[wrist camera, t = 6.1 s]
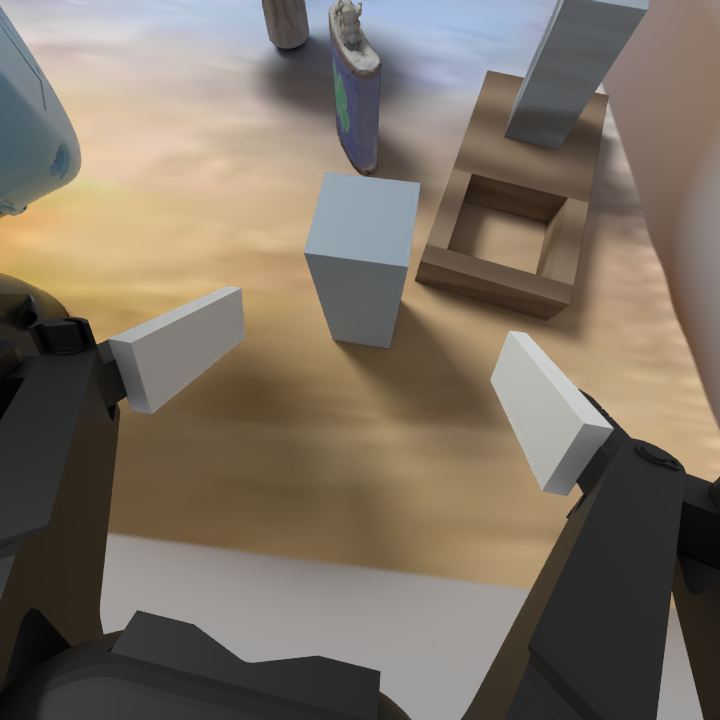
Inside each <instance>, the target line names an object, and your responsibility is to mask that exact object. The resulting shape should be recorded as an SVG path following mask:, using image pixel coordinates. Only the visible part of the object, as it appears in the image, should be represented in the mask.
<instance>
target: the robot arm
mask: <svg viewBox="0 0 720 720" xmlns="http://www.w3.org/2000/svg"><path fill="white" fill-rule="evenodd" d="M80 166H81V152H80V146H79V143H78V139H77V136H76V134H75V131H74V129H73V127H72V124H71V122H70V120H69V118H68V116H67V114H66V112H65V110H64V108H63V106H62V104H61V103H60V101H59V99H58V97H57V95H56V94H55V92H54V90H53V88H52V87H51V85H50V83H49V81H48V80H47V78H46V76H45V75H44V73H43V72H42V70H41V68H40V67H39V65H38V63H37V62H36V60H35V59H34V57H33V55H32V54H31V52H30V51H29V49H28V47H27V46H26V44H25V43H24V41H23V40H22V38H21V37H20V35H19V34H18V32H17V31H16V29H15V28H14V26H13V25H12V23H11V21H10V20H9V18H8V17H7V15H6V14H5V12H4V11H3V9H2V8H1V6H0V218H1V217H3V216H6V215H8V214H9V215H12V216H15V215H18V214H21V213H22V212H24V211H25V210H26V209H27V206H28V204H30V203H32V202H34V201H36V200H37V199H39V198H41V197H43V196H45V195H47V194H49V193H51V192H53V191H55V190H57V189H59V188H61V187H63V186H65V185H67V184H68V183H70V182H71V181H72V180H73V179H74V178H75V177H76V176H77V174H78V172H79V170H80ZM244 339H245V327H244V315H243V303H242V291H241V288H237V287H230V286H226V287H223V288H221V289H219V290H216V291H214V292H212V293H210V294H207V295H205V296H203V297H201V298H198V299H196V300H194V301H192V302H189V303H187V304H185V305H183V306H180V307H178V308H176V309H174V310H171V311H169V312H167V313H165V314H162V315H160V316H158V317H156V318H153V319H151V320H149V321H147V322H144V323H142V324H140V325H138V326H135V327H133V328H131V329H129V330H126V331H124V332H122V333H119V334H117V335H115V336H113V337H110V338H108V340H106V341H104V342H102V343H99V344H97V345H96V342H95V339H94V336H93V334H92V331H91V328H90V325H89V322H88V320H86V319H84V318H77V317H67V314H66V312H65V310H64V309H63V307H62V306H61V305H60V303H59V302H58V301H57V300H56V299H55V298H54V297H52V296H51V295H50V294H48V293H47V292H45V291H43V290H41V289H39V288H37V287H34V286H32V285H30V284H28V283H26V282H24V281H22V280H20V279H17V278H15V277H12V276H8V275H5V274H1V273H0V720H411V719H410V718H409V716H408V715H407V714H406V713H405V712H404V711H403V710H402V709H401V708H400V707H399V706H398V705H397V704H396V703H394V702H393V701H392V700H391V699H390V698H388V697H387V696H386V695H384V694H383V693H381V692H380V691H379V687H380V671H377V670H373V669H369V668H365V667H361V666H356V665H353V664H349V663H345V662H341V661H337V660H333V659H329V658H325V657H321V656H311V657H301V658H292V659H284V660H274V661H265V662H256V663H247V662H245V661H243V660H241V659H240V658H238V657H237V656H236V655H234V654H233V653H231V652H230V651H229V650H227V649H226V648H225V647H223V646H222V645H221V644H219V643H218V642H217V641H215V640H214V639H213V638H211V637H210V636H209V635H207V634H206V633H205V632H203V631H202V630H201V629H199V628H198V627H197V626H195V625H194V624H190V623H186V622H182V621H178V620H174V619H170V618H166V617H162V616H158V615H154V614H150V613H146V612H142V611H138V610H137V612H136V613H135V614H134V616H133V617H132V619H131V620H130V622H129V623H128V625H127V626H126V628H125V629H124V630H121V631H117V632H113V633H108V634H103V630H102V624H101V619H100V598H101V589H102V580H103V570H104V561H105V550H106V541H107V532H108V523H109V514H110V504H111V495H112V485H113V476H114V467H115V457H116V448H117V438H118V429H119V420H120V409H119V406H118V404H117V402H119V401H120V400H122V399H123V398H125V397H126V396H127V399H128V402H129V405H130V408H131V410H132V411H137V412H142V413H147V414H153V413H154V412H155V411H157V410H158V409H159V408H160V407H162V406H163V405H164V404H165V403H166V402H168V401H169V400H170V399H171V398H173V397H174V396H175V395H176V394H178V393H179V392H180V391H181V390H182V389H184V388H185V387H186V386H187V385H189V384H190V383H191V382H192V381H193V380H195V379H196V378H197V377H198V376H200V375H201V374H202V373H203V372H205V371H206V370H207V369H208V368H209V367H211V366H212V365H213V364H214V363H216V362H217V361H218V360H219V359H221V358H222V357H223V356H224V355H225V354H227V353H228V352H229V351H230V350H232V349H233V348H234V347H235V346H236V345H238V344H239V343H240V342H241V341H243V340H244ZM490 381H491V383H492V385H493V387H494V389H495V391H496V394H497V396H498V398H499V400H500V402H501V404H502V406H503V409H504V411H505V413H506V415H507V417H508V419H509V422H510V424H511V426H512V428H513V430H514V432H515V434H516V437H517V439H518V441H519V443H520V445H521V447H522V449H523V452H524V454H525V456H526V458H527V460H528V462H529V464H530V467H531V469H532V471H533V473H534V475H535V477H536V480H537V482H538V484H539V486H540V488H541V490H542V491H545V492H550V493H555V494H560V495H565V496H567V495H568V494H569V493H570V491H571V490H572V488H573V487H574V485H575V484H576V482H577V483H578V485H579V487H580V488H581V490H582V492H583V493H584V494H583V495H582V496H581V498H580V499H579V500H578V502H577V503H576V505H575V506H574V507H573V509H572V510H571V511H570V513H569V514H568V515H567V517H566V518H568V521H567V523H566V525H565V527H564V528H563V530H562V532H561V534H560V536H559V538H558V540H557V542H556V544H555V546H554V547H553V549H552V551H551V553H550V555H549V557H548V559H547V561H546V563H545V565H544V566H543V568H542V570H541V572H540V574H539V576H538V578H537V580H536V582H535V584H534V585H533V587H532V589H531V591H530V593H529V595H528V597H527V599H526V601H525V603H524V605H523V606H522V608H521V610H520V612H519V614H518V616H517V618H516V620H515V622H514V623H513V626H512V627H511V629H510V631H509V633H508V635H507V637H506V639H505V641H504V642H503V644H502V646H501V648H500V650H499V652H498V654H497V656H496V658H495V660H494V661H493V663H492V665H491V667H490V669H489V671H488V673H487V675H486V677H485V679H484V680H483V682H482V684H481V686H480V688H479V690H478V692H477V694H476V695H475V697H474V699H473V701H472V703H471V705H470V706H469V708H468V710H467V711H466V713H465V714H464V716H463V717H462V719H461V720H656V718H657V709H658V700H659V692H660V684H661V675H662V667H663V659H664V651H665V642H666V634H667V625H668V617H669V609H670V601H671V592H672V593H673V597H674V601H675V605H676V609H677V613H678V617H679V621H680V625H681V629H682V633H683V637H684V641H685V645H686V650H687V653H688V657H689V662H690V666H691V670H692V674H693V678H694V682H695V686H696V690H697V694H698V698H699V702H700V706H701V710H702V714H703V719H704V720H720V477H719V478H718V479H717V480H716V481H715V482H714V483H712V482H709V481H706V480H703V479H700V478H698V477H695V476H692V475H689V474H686V472H685V469H684V467H683V465H682V464H681V463H680V462H679V461H678V460H677V459H676V458H674V457H673V456H672V455H670V454H669V453H668V452H666V451H664V450H662V449H660V448H659V447H657V446H655V445H652V444H650V443H647V442H645V441H642V440H638V439H632V438H631V437H630V436H629V435H628V434H627V433H626V432H625V431H624V430H623V429H622V428H621V427H620V426H619V425H618V424H617V423H616V422H615V421H614V420H613V419H612V417H609V414H608V413H607V412H606V411H605V410H604V409H602V407H601V406H600V405H599V404H598V403H597V402H596V401H595V400H594V399H593V398H592V397H591V396H589V395H588V394H586V393H585V392H583V391H582V390H580V389H577V388H576V387H575V386H574V385H573V383H572V382H571V381H570V380H569V379H568V378H567V377H566V376H565V375H564V374H563V373H562V371H561V370H560V369H559V368H558V367H557V366H556V365H555V364H554V363H553V362H552V361H551V359H550V358H549V357H548V356H547V355H546V354H545V353H544V352H543V351H542V350H541V349H540V347H539V346H538V345H537V344H536V343H535V342H534V341H533V340H532V339H531V338H530V337H529V336H528V334H527V333H522V332H516V331H509V333H508V336H507V338H506V341H505V343H504V346H503V348H502V351H501V354H500V356H499V359H498V361H497V364H496V366H495V369H494V372H493V374H492V377H491V379H490Z"/></svg>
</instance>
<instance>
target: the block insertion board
mask: <svg viewBox="0 0 720 720" xmlns="http://www.w3.org/2000/svg"><path fill="white" fill-rule="evenodd" d="M648 4H649V0H558V1H557V3H556V6H555V8H554V10H553V13H552V15H551V17H550V20H549V22H548V24H547V27H546V29H545V31H544V34H543V36H542V38H541V41H540V43H539V45H538V48H537V50H536V52H535V55H534V57H533V59H532V62H531V64H530V66H529V69H528V71H527V73H526V76H525V78H522V77H518V76H513V75H508V74H503V73H498V72H493V71H489V70H488V71H487V74H486V77H485V80H484V83H483V85H482V88H481V91H480V94H479V97H478V100H477V102H476V105H475V108H474V111H473V114H472V117H471V119H470V122H469V125H468V128H467V131H466V133H465V136H464V139H463V142H462V145H461V148H460V150H459V153H458V156H457V159H456V162H455V165H454V167H453V170H452V173H451V176H450V179H449V182H448V184H447V187H446V190H445V193H444V196H443V199H442V201H441V204H440V207H439V210H438V213H437V216H436V218H435V221H434V224H433V227H432V230H431V233H430V235H429V238H428V241H427V244H426V247H425V250H424V252H423V255H422V258H421V261H420V264H419V268H418V271H417V275H416V278H415V281H418V282H421V283H425V284H428V285H431V286H435V287H438V288H441V289H445V290H448V291H451V292H455V293H458V294H461V295H464V296H468V297H471V298H474V299H478V300H481V301H484V302H488V303H491V304H494V305H498V306H501V307H504V308H508V309H511V310H514V311H518V312H521V313H524V314H528V315H531V316H534V317H537V318H541V319H544V320H549V319H550V318H552V317H553V316H554V315H556V314H557V313H559V312H560V311H562V310H563V309H564V308H566V307H567V306H569V305H570V303H571V297H572V292H573V286H574V281H575V276H576V270H577V265H578V259H579V254H580V249H581V243H582V238H583V232H584V227H585V222H586V216H587V211H588V205H589V200H590V195H591V189H592V184H593V178H594V173H595V168H596V162H597V157H598V151H599V146H600V140H601V135H602V130H603V124H604V119H605V113H606V108H607V103H608V97H609V96H608V95H604V94H600V93H595V91H596V89H597V88H598V86H599V85H600V83H601V82H602V80H603V78H604V77H605V75H606V74H607V72H608V71H609V69H610V67H611V66H612V64H613V63H614V61H615V60H616V58H617V57H618V55H619V53H620V52H621V51H622V49H623V47H624V46H625V44H626V43H627V41H628V40H629V38H630V36H631V35H632V33H633V32H634V30H635V29H636V27H637V26H638V24H639V23H640V21H641V19H642V18H643V16H644V15H645V13H646V12H647V10H648ZM463 201H467V202H471V203H474V204H478V205H482V206H486V207H490V208H493V209H497V210H501V211H505V212H509V213H512V214H516V215H520V216H524V217H528V218H531V219H535V220H539V221H543V222H547V223H548V224H547V228H546V233H545V237H544V242H543V246H542V251H541V255H540V259H539V264H538V268H537V273H536V275H535V274H531V273H528V272H524V271H521V270H517V269H514V268H510V267H507V266H503V265H500V264H496V263H493V262H489V261H486V260H482V259H479V258H475V257H472V256H468V255H465V254H461V253H458V252H454V251H451V250H447V248H448V245H449V242H450V239H451V236H452V233H453V230H454V227H455V224H456V220H457V217H458V214H459V211H460V208H461V205H462V202H463Z"/></svg>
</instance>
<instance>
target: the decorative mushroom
mask: <svg viewBox="0 0 720 720" xmlns="http://www.w3.org/2000/svg"><path fill="white" fill-rule="evenodd" d="M262 6H263V11H264V16H265V21H266V26H267V30H268V35H269V39H270V41H271V42H272V43H273V44H274V45H275V46H278V47H280V48H286V49H290V48H295V47H298V46H300V45H302V44H303V43H304V42H305V41H306V40H307V38H308V35H309V27H308V20H307V13H306V6H305V1H304V0H262Z"/></svg>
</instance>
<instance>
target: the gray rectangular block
mask: <svg viewBox="0 0 720 720" xmlns="http://www.w3.org/2000/svg"><path fill="white" fill-rule="evenodd" d="M420 184H421V183H416V182H407V181H398V180H390V179H381V178H372V177H364V176H355V175H347V174H338V173H329V172H325V176H324V180H323V183H322V187H321V191H320V195H319V198H318V202H317V206H316V210H315V213H314V217H313V221H312V225H311V228H310V232H309V236H308V240H307V243H306V247H305V251H304V254H305V257H306V260H307V263H308V266H309V269H310V272H311V275H312V278H313V281H314V284H315V287H316V290H317V294H318V297H319V300H320V303H321V306H322V309H323V312H324V315H325V318H326V321H327V324H328V327H329V330H330V333H331V336H332V339H333V340H338V341H344V342H351V343H357V344H363V345H370V346H376V347H382V348H389V349H390V345H391V340H392V336H393V331H394V327H395V323H396V318H397V314H398V309H399V305H400V301H401V296H402V292H403V287H404V283H405V279H406V274H407V270H408V265H409V258H410V251H411V245H412V238H413V231H414V225H415V218H416V211H417V204H418V198H419V191H420Z"/></svg>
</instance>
